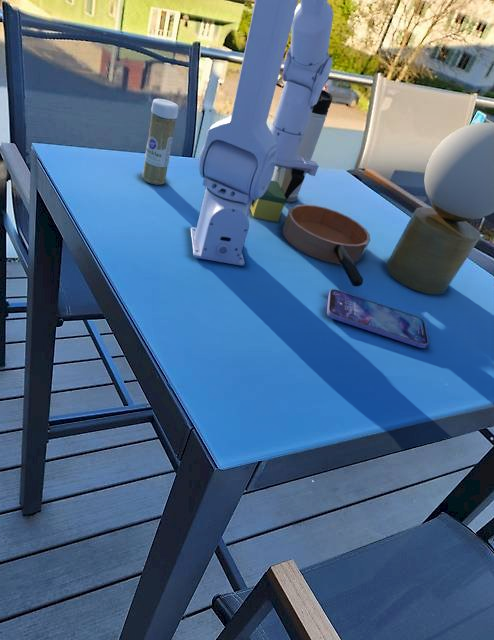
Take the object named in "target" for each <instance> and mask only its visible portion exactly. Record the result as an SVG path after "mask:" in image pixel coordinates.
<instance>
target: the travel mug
mask: <svg viewBox="0 0 494 640" xmlns="http://www.w3.org/2000/svg"><path fill="white" fill-rule="evenodd" d="M332 101H333V95H332V94H331V93H329V92H328V91H326V90H324V89H322V91H321V94H320V97H319V100H318V101H317V104H315V105H314V107H313V110H312V113H311V115H310V118H309V121H308V124H307V127H306V130H305V133H304V136H303V139H302V142H301V145H300V148H299V151H298V154H297V156H299V157H302V158H305V159H308V160H311V161H312V158H313V155H314V152H315V150H316V147H317V144H318V141H319V137H320V135H321V133H322V130H323V127H324V125H325V122H326V118H327V116H328V112H329V109H330V107H331V104H332ZM285 171H286V168H281V167H277V166H275V169H274V173H273V177H272V179H271V181H276V182H278V183H279V185H280V187H282V183H283V180H284V175H285ZM306 175H307V173H304V177H305V178H306ZM303 183H304V181H303V182H302V183H301V184H300V185H299V186H298V187H297V188H296V189H295V190H294V191H293V192H292V193H291V195H290V196H289V197H288V199H287V200H286V202H285V203H294V202H296V201H297V199H298V197H299V193H300V191H301V189H302V186H303Z"/></svg>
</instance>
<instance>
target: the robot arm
mask: <svg viewBox="0 0 494 640" xmlns="http://www.w3.org/2000/svg"><path fill="white" fill-rule="evenodd" d="M298 2H299V0H254V5H253V9H252V14H251V19H250V24H249V28H248V33H247V39H246V43H245V48H244V51H243V58H242V62H241V67H240V72H239V77H238V82H237V87H236V91H235V97H234V101H233V106H232V111H231V115H229V116H226V117H224V118H221V119H218V120H217V121H216V122H214V123H213V124H211V126H210V127H209V128H208V130H207V134H206V137H205V141H204V143H203V146H202V149H201V150H200V154H199V159H198V171H199V175H200V177H201V178H202V179H203V180H202V186H204V187H205V190H204V195H203V198H202V203H201V207H200V211H199V215H198V220H197V224H196V227H195V226H191V227H190V238H191V245H192V255H193V257H194V258H196V259H201V260H208V261H211V262H212V261H213V262H218V263H223V264H224V263H225V264H231V265H235V266H245V259H244V255H243V248H244V246H245V242H246V239H247V235H248V233H249V229H250V221H249V213H250V212H251V209H250V207H251V204H253V202H254V200H257V199H259V198H260V197H262V196H263V195H264V193H265V192H266V190H267V188H268V186H269V184H270V182H271V180H272V177H273V173H274V170H275V167H276V166H277V167H281V168H286V171H285V175H284V180H283V183H282V187H281V189H282V191H283V193H284V195H285V198H286V200H287V199H288V197H289V196H290V195H291V193H292V192H293V191H294V190H295V189H296V188H297V187H298V186H299V185H300V184H301V183H302V182H303V183H304V180H305V178H306V176H305V177H304V173H306V174H308V175H309V176H312V177H315V176H316V174H317V172H318V169H319V166H320V165H319V164H318V162H317V161H314V160H312V159H311V160H308V159H305V158H302V157H299V156H297V154H298V151H299V148H300V145H301V142H302V139H303V136H304V133H305V130H306V127H307V124H308V121H309V118H310V115H311V113H312V110H313V107H314V105H315V104H317V101H318V100H319V97H320V94H321V91H322V90H324V87H325V85H326V83H327V81H328V79H329V76H330V74H331V70H332V68H333V67H332V66H333V57H330V53H329V48H330V40H331V34H332V26H333V19H334V10H333V8H332V6H331V4H330V3H329V2H328V0H300V2H299V3H298ZM290 33H291V34H290ZM289 37H290V46H289V47H288V50H287V52H286V49H287V45H288V41H289ZM285 52H286V57H285ZM284 57H285V61H284ZM283 61H284V65H283ZM282 65H283V70H282V69H281V67H282ZM281 70H282V81H283V82H285V83H284V84H283V88H282V91H281V94H280V98H279V102H278V105H277V109H276V111H275V115H274V118H273V121H272V125H271V129H270V128H269V126H268V124H267V123H268V119H269V114H270V110H271V107H272V103H273V99H274V95H275V91H276V87H277V83H278V80H279V77H280V73H281ZM303 183H302V184H303ZM285 203H287V202H286V201H285Z"/></svg>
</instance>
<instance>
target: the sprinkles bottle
mask: <svg viewBox="0 0 494 640" xmlns="http://www.w3.org/2000/svg"><path fill="white" fill-rule="evenodd" d="M150 109H151V110H150V111H151V118H150V124H149V131H148V138H147V142H146V147H145V153H144V164H143V171H142V174H141V178H142V180H144V181H145V182H146V183H148V184H152V185H159V186H160V185H164V184H165V183H166V181H167V171H168V168H169V167H168V166H169V163H170V157H171V151H172V147H173V139H174V131H175V127H176V121H177V119H178V116H179V109H180V106H179V105H178V103H175V102H173V101H172V100H168V99H164V98H154V99H152V102H151V108H150Z"/></svg>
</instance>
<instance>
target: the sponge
mask: <svg viewBox="0 0 494 640" xmlns="http://www.w3.org/2000/svg"><path fill="white" fill-rule="evenodd" d="M285 201H286V198H285V195H284V193H283V191H282V189H281V187H280V185H279V183H278V182H276V181H271V182H270V184H269V186H268V188H267V190H266V192H265V193H264V195H263V196H262V197H260V198H259V199H257V200H254V202H253V204H251V207H250V212H251V215H252V218H255V219H260V220H266V221H270V222H276V223H278V222H279V221H280V218H281V215H282V212H283V209H284V207H285V203H286V202H285Z"/></svg>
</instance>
